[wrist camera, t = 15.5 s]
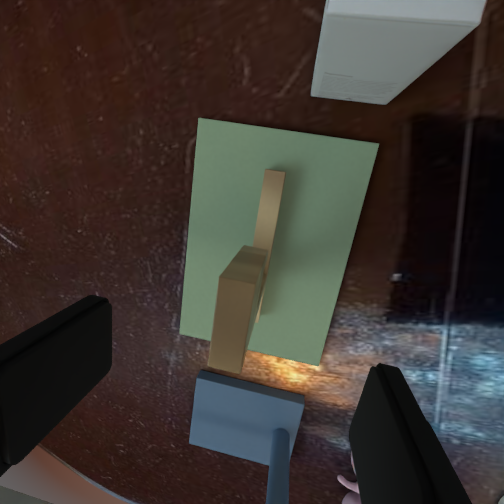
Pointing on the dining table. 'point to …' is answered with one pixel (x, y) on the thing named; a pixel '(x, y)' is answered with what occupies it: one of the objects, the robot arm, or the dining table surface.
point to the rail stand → (248, 425)
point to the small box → (386, 44)
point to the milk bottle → (501, 500)
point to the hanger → (245, 283)
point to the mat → (287, 231)
